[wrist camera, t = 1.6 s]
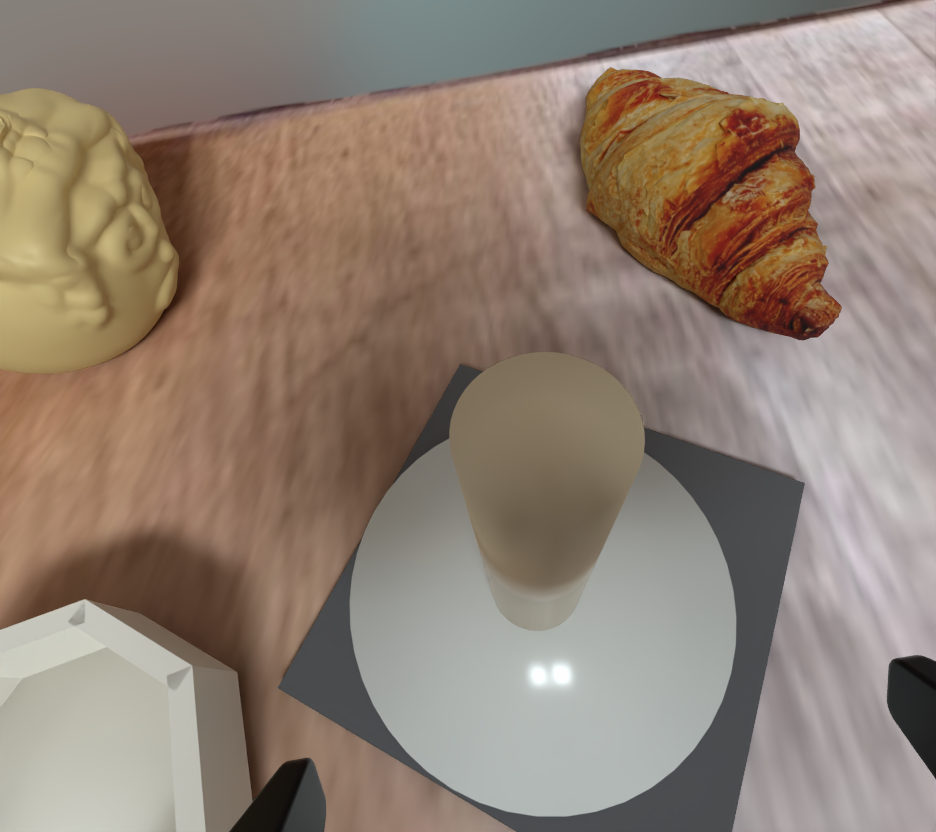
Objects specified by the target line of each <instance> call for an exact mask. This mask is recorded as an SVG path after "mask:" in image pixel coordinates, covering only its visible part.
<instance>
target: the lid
mask: <svg viewBox="0 0 936 832" xmlns="http://www.w3.org/2000/svg"><path fill="white" fill-rule="evenodd" d="M644 446H645V434H644V427H643V421H642V418H641V415H640V412H639V409H638V407H637V405H636V403H635V401H634V399H633V398H632V396H631V395H630V394H629V392H628V391H627V389H626V388H625V387H624V386H623V385H622V384H621V383H620V382H619V381H618V380H617V379H616V378H615V377H614V376H613V375H611V374H610V373H609V372H607V371H606V370H604V369H603V368H601V367H600V366H598V365H596V364H594V363H592V362H590V361H588V360H585V359H583V358H580V357H577V356H573V355H569V354H564V353H557V352H532V353H526V354H521V355H517V356H514V357H510V358H508V359H505V360H503V361H500V362H498V363H496V364H495V365H493V366H491V367H489V368H488V369H486V370H485V371H483V372H482V373H481V374H479V375H478V376H477V377H476V378H475V379H474V380H473V381H472V382H471V383H470V384H469V385H468V387H467V388H466V389H465V390H464V392H463V393H462V395H461V397H460V398H459V400H458V402H457V404H456V406H455V408H454V411H453V415H452V418H451V423H450V430H449V439H447V440H446V441H444V442H442V443H440V444H439V445H437V446H435V447H434V448H432V449H431V450H430V451H428V452H427V453H426V454H424V455H423V456H421V457H420V458H419V459H417V460H416V461H415V462H414V463H413V464H412V465H411V466H410V467H409V468H408V469H407V470H406V471H405V472H404V473H402V474H401V476H400V477H399V478H398V479H397V480H396V482H395V483H394V484H393V485H392V486H391V488H390V489H389V490H388V491H387V493H386V494H385V496H384V497H383V499H382V500H381V502H380V503H379V505H378V506H377V508H376V509H375V511H374V513H373V515H372V517H371V519H370V521H369V523H368V525H367V528H366V530H365V532H364V535H363V538H362V540H361V543H360V546H359V549H358V552H357V556H356V560H355V565H354V569H353V574H352V581H351V592H350V628H351V634H352V641H353V647H354V653H355V657H356V660H357V664H358V667H359V671H360V674H361V677H362V680H363V683H364V685H365V687H366V690H367V692H368V694H369V696H370V699H371V701H372V703H373V705H374V707H375V709H376V710H377V712H378V714H379V715H380V717H381V719H382V720H383V722H384V724H385V725H386V727H387V728H388V730H389V731H390V732H391V734H392V735H393V736H394V737H395V739H396V740H397V741H398V742H399V744H400V745H401V746H402V747H403V749H404V750H405V751H406V752H407V753H408V754H409V755H410V756H411V757H412V758H413V759H414V760H415V761H416V762H418V763H419V764H420V765H421V766H422V767H423V768H424V769H425V770H426V771H427V772H428V773H430V774H431V775H433V776H434V777H436V778H437V779H438V780H440V781H441V782H443V783H444V784H446V785H447V786H448V787H450V788H451V789H453V790H455V791H457V792H459V793H461V794H463V795H465V796H467V797H469V798H471V799H473V800H475V801H477V802H479V803H482V804H485V805H488V806H491V807H494V808H498V809H501V810H504V811H507V812H513V813H519V814H525V815H531V816H573V815H579V814H585V813H591V812H597V811H600V810H603V809H606V808H609V807H612V806H615V805H618V804H621V803H624V802H626V801H628V800H630V799H631V798H633V797H635V796H637V795H639V794H641V793H643V792H645V791H647V790H648V789H650V788H652V787H653V786H654V785H656V784H657V783H658V782H660V781H661V780H662V779H663V778H665V777H666V776H667V775H669V774H670V773H671V772H673V771H674V770H675V769H676V768H677V767H678V766H679V765H680V764H681V763H682V762H683V760H684V759H685V758H686V757H687V756H688V755H689V754H690V753H691V752H692V751H693V750H694V749H695V747H696V746H697V744H698V743H699V741H700V740H701V739H702V737H703V736H704V734H705V733H706V731H707V730H708V728H709V727H710V725H711V723H712V721H713V719H714V717H715V715H716V713H717V711H718V709H719V707H720V705H721V703H722V700H723V698H724V695H725V691H726V688H727V685H728V682H729V678H730V675H731V672H732V665H733V659H734V653H735V647H736V609H735V600H734V591H733V587H732V582H731V578H730V574H729V570H728V566H727V563H726V560H725V557H724V555H723V552H722V550H721V547H720V544H719V542H718V539H717V537H716V535H715V534H714V532H713V530H712V528H711V526H710V524H709V522H708V520H707V518H706V517H705V515H704V514H703V512H702V511H701V509H700V508H699V506H698V505H697V504H696V502H695V501H694V499H693V498H692V496H691V495H690V494H689V493H688V492H687V491H686V490H685V488H684V487H683V486H682V485H681V484H680V483H679V482H678V480H677V479H676V478H675V477H674V476H673V475H672V474H670V473H669V472H668V471H667V470H666V469H665V468H664V467H663V466H662V465H660V464H659V463H658V462H657V461H656V460H654V459H653V458H651V457H650V456H649V455H647V454H646V453H644Z"/></svg>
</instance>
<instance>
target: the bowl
mask: <svg viewBox="0 0 936 832" xmlns="http://www.w3.org/2000/svg"><path fill="white" fill-rule="evenodd" d="M252 802H253V801H252V792H251V784H250V775H249V767H248V759H247V750H246V742H245V733H244V725H243V717H242V708H241V700H240V692H239V683H238V675H237V672H236V671H234V670H233V669H231V668H230V667H228V666H226V665H225V664H223V663H221V662H220V661H218V660H216V659H215V658H213V657H211V656H210V655H208V654H206V653H205V652H203V651H202V650H200V649H198V648H197V647H195V646H193V645H192V644H190V643H188V642H187V641H185V640H183V639H182V638H180V637H178V636H177V635H175V634H173V633H172V632H170V631H169V630H167V629H165V628H164V627H162V626H160V625H159V624H157V623H155V622H154V621H152V620H150V619H149V618H147V617H145V616H144V615H142V614H141V613H137V612H133V611H129V610H125V609H121V608H117V607H114V606H110V605H106V604H102V603H98V602H94V601H90V600H87V599H84V600H81V601H78V602H76V603H73V604H70V605H67V606H65V607H62V608H59V609H56V610H54V611H51V612H48V613H45V614H43V615H40V616H37V617H34V618H32V619H29V620H26V621H23V622H21V623H18V624H15V625H12V626H10V627H7V628H4V629H1V630H0V832H229V831H230V830H231V828H232V827H233V826H234V825H235V823H236V822H237V821H238V820H239V818H240V817H241V816H242V814H243V813H244V812H245V811H246V809H247V808H248V807H249V806H250V804H251V803H252Z"/></svg>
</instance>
